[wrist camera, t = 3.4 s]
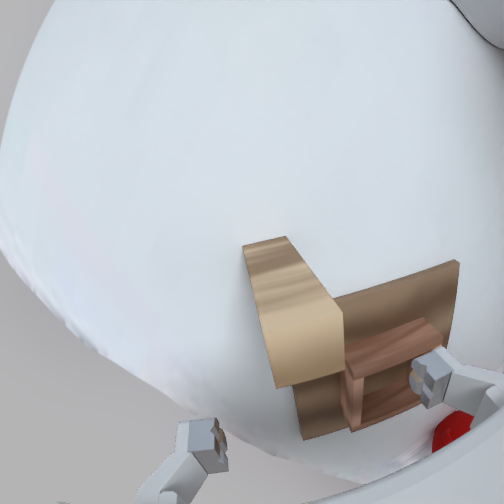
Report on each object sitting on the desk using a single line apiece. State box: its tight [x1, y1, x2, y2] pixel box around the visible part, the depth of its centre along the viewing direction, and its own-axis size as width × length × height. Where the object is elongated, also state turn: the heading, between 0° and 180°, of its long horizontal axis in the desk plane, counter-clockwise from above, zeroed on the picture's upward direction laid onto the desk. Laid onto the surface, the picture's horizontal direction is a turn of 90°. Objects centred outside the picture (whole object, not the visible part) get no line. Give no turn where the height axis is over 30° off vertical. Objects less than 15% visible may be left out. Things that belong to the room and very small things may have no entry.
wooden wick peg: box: [243, 236, 345, 389], centre depth 18 cm, size 4×4×12 cm
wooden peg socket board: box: [293, 260, 460, 441], centre depth 27 cm, size 20×20×5 cm
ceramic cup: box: [432, 411, 475, 453], centre depth 33 cm, size 13×17×10 cm
